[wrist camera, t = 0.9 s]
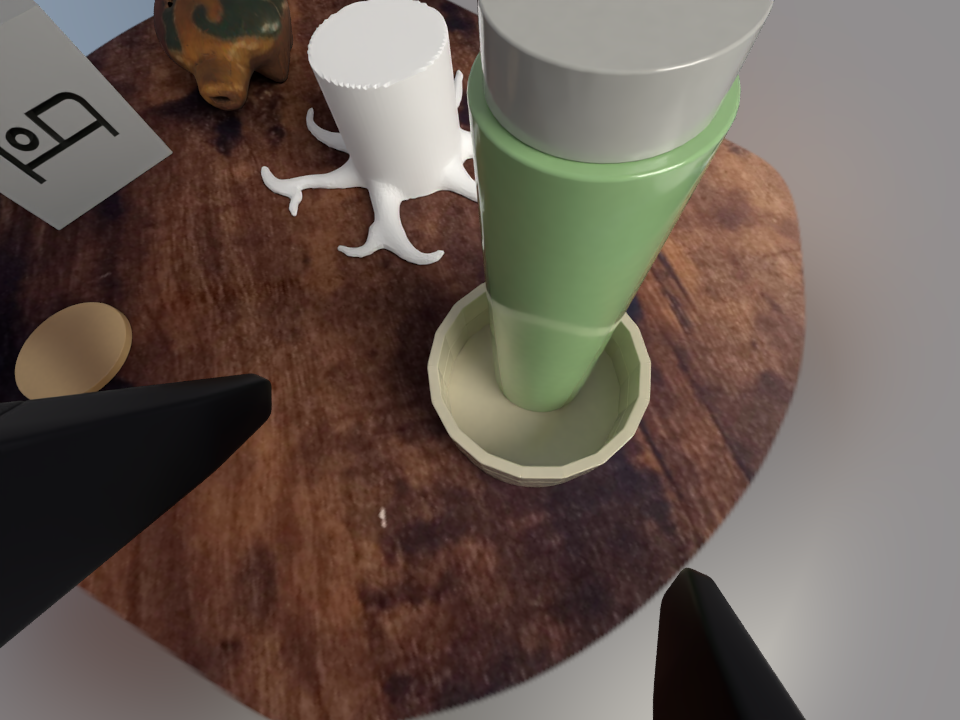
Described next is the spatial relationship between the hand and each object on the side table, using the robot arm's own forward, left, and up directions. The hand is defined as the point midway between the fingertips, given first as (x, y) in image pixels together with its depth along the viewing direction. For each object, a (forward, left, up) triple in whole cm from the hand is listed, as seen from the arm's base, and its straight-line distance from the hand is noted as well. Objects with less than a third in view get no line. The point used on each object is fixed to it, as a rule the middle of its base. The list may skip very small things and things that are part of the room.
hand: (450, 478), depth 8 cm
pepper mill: (+8, 0, -12) cm, 14 cm away
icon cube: (+13, +39, -14) cm, 44 cm away
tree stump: (+21, +14, -14) cm, 29 cm away
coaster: (-1, +28, -14) cm, 31 cm away
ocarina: (+26, +31, -14) cm, 43 cm away
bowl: (+6, 0, -14) cm, 15 cm away
